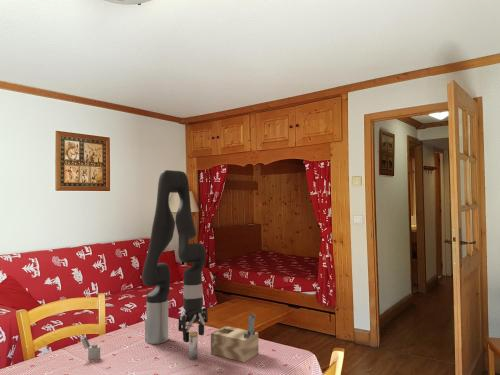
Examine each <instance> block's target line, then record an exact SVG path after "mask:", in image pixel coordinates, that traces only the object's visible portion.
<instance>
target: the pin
mask: <svg viewBox="0 0 500 375" xmlns="http://www.w3.org/2000/svg"><path fill="white" fill-rule="evenodd" d="M188 332H189V342H188V359H189V361H194V360H198V359H199V355H198V354H199V353H198V346H199V345H198V342H199V341H198V340H199V339H198V338H199V336H198V335H199V333H198V331H188Z"/></svg>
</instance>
